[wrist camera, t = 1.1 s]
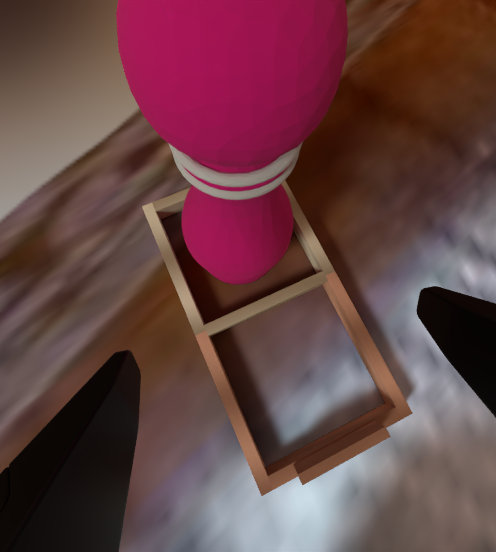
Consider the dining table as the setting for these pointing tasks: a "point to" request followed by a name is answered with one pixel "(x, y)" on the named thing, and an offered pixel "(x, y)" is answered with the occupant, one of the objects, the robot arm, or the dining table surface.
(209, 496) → the dining table surface
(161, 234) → the rack
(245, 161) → the pepper mill
